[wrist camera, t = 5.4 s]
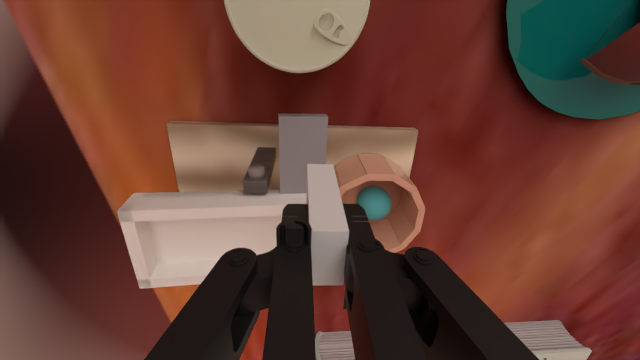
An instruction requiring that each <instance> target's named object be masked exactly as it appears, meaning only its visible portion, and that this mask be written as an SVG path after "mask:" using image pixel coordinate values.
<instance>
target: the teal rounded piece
mask: <svg viewBox="0 0 640 360" xmlns="http://www.w3.org/2000/svg"><path fill="white" fill-rule="evenodd" d="M506 17H507V29H508V42H509V50H510V52H511V55H512V58H513V61H514V63H515V66H516V69H517V71H518V74H519V76H520V77H521V79H522V81H523V82H524V84H525V86H526V87H527V89H528V90H529V91H530V92H531V93H532V95H533V96H534V97H535V98H536V99H537V100H538V101H539V102H541V103H542V104H543V105H545V106H546V107H548V108H550V109H552V110H554V111H556V112H558V113H561V114H565V115H568V116H572V117H577V118H587V119H597V120H599V119H605V118H612V117H618V116H624V115H629V114H632V113H635V112H638V111H640V0H507V9H506Z"/></svg>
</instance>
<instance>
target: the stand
mask: <svg viewBox="0 0 640 360" xmlns="http://www.w3.org/2000/svg"><path fill="white" fill-rule="evenodd" d="M166 124H167V130H168V135H169V141H170V146H171V151H172V157H173V162H174V168H175V173H176V178H177V184H178V189H179V192H192V191H228V190H244V193H258V194H267V193H268V189H280V174H279V124H267V123H233V122H199V121H170V122H168V123H166ZM417 136H418V130H417V129H416V128H403V127H369V126H335V125H328V129H327V147H326V164H333V166H335V165H336V164H337V163H339V162H340V161H342V160H343V159H345V158H347V157H349V156H352V155H356V154H361V153H374V154H379V155H382V156H384V157H386V158H388V159H390V160H391V161H393V162H394V163H395V164H397V165H398V166H400V167H401V169H402V170H403V171H404V172H405V174H406V175H407V176H408V177H410V172H411V167H412V162H413V157H414V151H415V146H416V141H417Z"/></svg>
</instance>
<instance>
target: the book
mask: <svg viewBox="0 0 640 360" xmlns="http://www.w3.org/2000/svg"><path fill="white" fill-rule="evenodd" d="M504 324H505V325H506V326H507V327H508V328H509V329H510V330H511V331H512V332H513V333H514V334H515V335H516V336H517V337H518V338H519V339H520V340H521V341H522V342H523V343H524V344H525V345H526V346H527V347H528V348H529V349H530V350H531V351H532V353H533V354H534V355H535V356H536V357H537V358H538V359H539V360H586V359H587V358H588V356H589V355H590V353H591V351H592V350H591V349H590V348H585V347H584V346H582V344H580V343H578V341H575V339H574V338H572V337H573V336H570V333H567V332H568V331H566V329H565V328H564V326H562V325H563V324H562V323H561V321H559V320H554V321H535V322H515V323H504ZM315 353H316V360H355V355H354V349H353V343H352V337H351V331H343V332H324V333H322V332H318V333H317V334H316V338H315Z"/></svg>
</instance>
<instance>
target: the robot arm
mask: <svg viewBox="0 0 640 360" xmlns="http://www.w3.org/2000/svg"><path fill="white" fill-rule="evenodd" d="M276 240H277V246H276V247H275V248H274V249H273V250H271V251H269V252H267V253H263V254H259V255H256V253H255V252H254V251H252V250H251V249H248V248H235V249H232V250H229V251H227V252H226V253H224V254H223V255H222V256H221V257H220V259H219V260H218V261H217V263H216V264H215V265H214V267H213V268H212V270H211V271H210V272H209V274H208V275H207V276H206V278H205V279H204V280H203V282H202V283H201V284H200V286H199V287H198V288H197V290H196V291H195V292H194V294H193V295H192V296H191V298H190V299H189V300H188V302H187V303H186V304H185V306H184V307H183V308H182V310H181V311H180V312H179V314H178V315H177V316H176V318H175V319H174V320H173V322H172V323H171V325H170V326H169V327H168V329H167V330H166V331H165V333H164V334H163V335H162V337H161V338H160V339H159V341H158V342H157V343H156V345H155V346H154V347H153V349H152V350H151V351H150V353H149V354H148V355H147V357H146V358H145V359H144V360H239V359H240V356H241V354H242V352H243V350H244V347H245V345H246V343H247V341H248V338H249V336H250V334H251V332H252V329H253V327H254V325H255V323H256V321H257V318H258V316H259V313H260V310H263V309H266V308H269V312H268V320H267V328H266V336H265V344H264V352H263V360H316V353H315V329H314V305H313V285H344V277H345V283H346V289H345V298H344V308H343V309H346V306H347V312H348V318H349V324H350V330H351V337H352V343H353V349H354V355H355V360H539V359H538V358H537V357H536V356H535V355H534V354H533V353H532V351H531V350H530V349H529V348H528V347H527V346H526V345H525V344H524V343H523V342H522V341H521V340H520V339H519V338H518V337H517V336H516V335H515V334H514V333H513V332H512V331H511V330H510V329H509V328H508V327H507V326H506V325H505V324H504V323H503V322H502V321H501V320H500V319H499V318H498V317H497V316H496V315H495V314H494V313H493V312H492V310H491V309H490V308H489V307H488V306H487V305H486V304H485V303H484V302H483V301H482V300H481V299H480V298H479V297H478V296H477V295H476V294H475V293H474V292H473V291H472V290H471V289H470V288H469V287H468V286H467V285H466V284H465V283H464V282H463V281H462V280H461V279H460V278H459V277H458V276H457V275H456V274H455V273H454V272H453V271H452V269H451V268H450V267H449V266H448V265H447V264H446V263H445V262H444V261H443V260H442V259H441V258H440V257H439V256H438V255H437V254H435V253H434V252H433V251H431V250H428V249H426V248H421V247H412V248H409V249H408V250H407V251H406V252H405V255H402V254H397V253H393V252H390V251H387V250H385V249H384V246H383V245H382V243H381V242H380V241H378V240H377V239H375V237H374V234H373V231H372V229H371V226H370V223H369V220H368V217H367V215H366V212H365V209H364V208H363V207H361V206H360V205H359V204H342V199H341V195H340V191H339V187H338V183H337V179H336V174H335V170H334V166H333V164H307V196H306V204H287V205H286V206H285V207H284V209H283V212H282V221H281V223H280V224H278V226H277V228H276Z"/></svg>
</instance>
